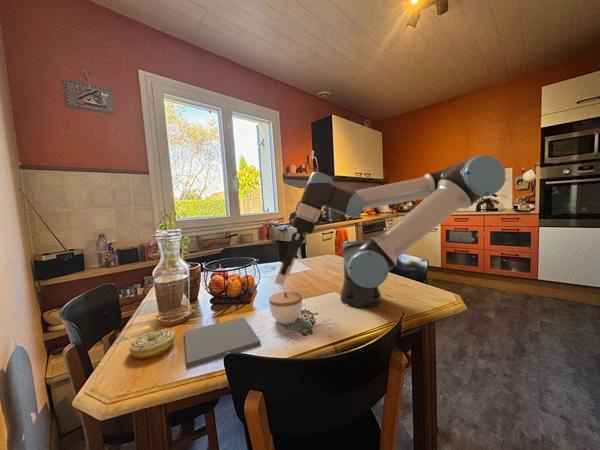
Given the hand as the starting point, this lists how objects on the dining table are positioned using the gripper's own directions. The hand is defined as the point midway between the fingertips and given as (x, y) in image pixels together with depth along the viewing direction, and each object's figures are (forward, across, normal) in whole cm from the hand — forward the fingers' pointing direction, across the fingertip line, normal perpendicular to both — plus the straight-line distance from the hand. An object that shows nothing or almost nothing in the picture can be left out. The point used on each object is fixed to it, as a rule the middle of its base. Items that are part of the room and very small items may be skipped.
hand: (282, 278), depth 80 cm
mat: (+19, +13, -10) cm, 25 cm away
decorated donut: (+27, +18, -25) cm, 40 cm away
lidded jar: (+12, +1, +6) cm, 14 cm away
